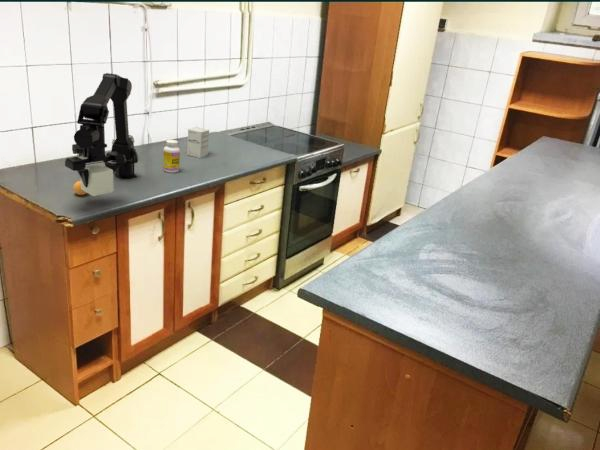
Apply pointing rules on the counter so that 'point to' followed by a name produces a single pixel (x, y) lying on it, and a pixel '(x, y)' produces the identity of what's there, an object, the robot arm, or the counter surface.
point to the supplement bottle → (171, 157)
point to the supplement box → (197, 142)
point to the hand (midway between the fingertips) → (97, 184)
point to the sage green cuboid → (98, 180)
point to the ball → (78, 188)
